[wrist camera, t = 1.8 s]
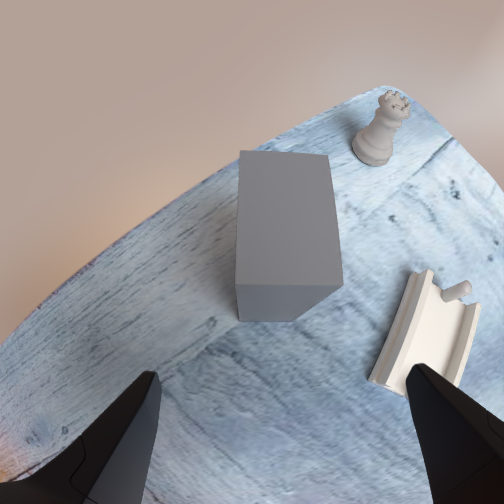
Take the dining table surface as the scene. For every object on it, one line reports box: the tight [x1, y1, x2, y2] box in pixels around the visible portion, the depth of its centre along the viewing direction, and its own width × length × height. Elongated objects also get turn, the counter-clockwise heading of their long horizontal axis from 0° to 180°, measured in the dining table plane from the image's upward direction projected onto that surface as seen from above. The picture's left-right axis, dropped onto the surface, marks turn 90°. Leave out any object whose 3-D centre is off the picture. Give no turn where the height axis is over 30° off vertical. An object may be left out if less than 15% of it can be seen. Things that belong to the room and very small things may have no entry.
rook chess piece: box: [352, 90, 411, 166], centre depth 24 cm, size 4×4×8 cm
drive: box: [235, 150, 343, 322], centre depth 17 cm, size 6×4×12 cm, turn 179°
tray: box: [368, 269, 481, 400], centre depth 19 cm, size 10×8×4 cm
